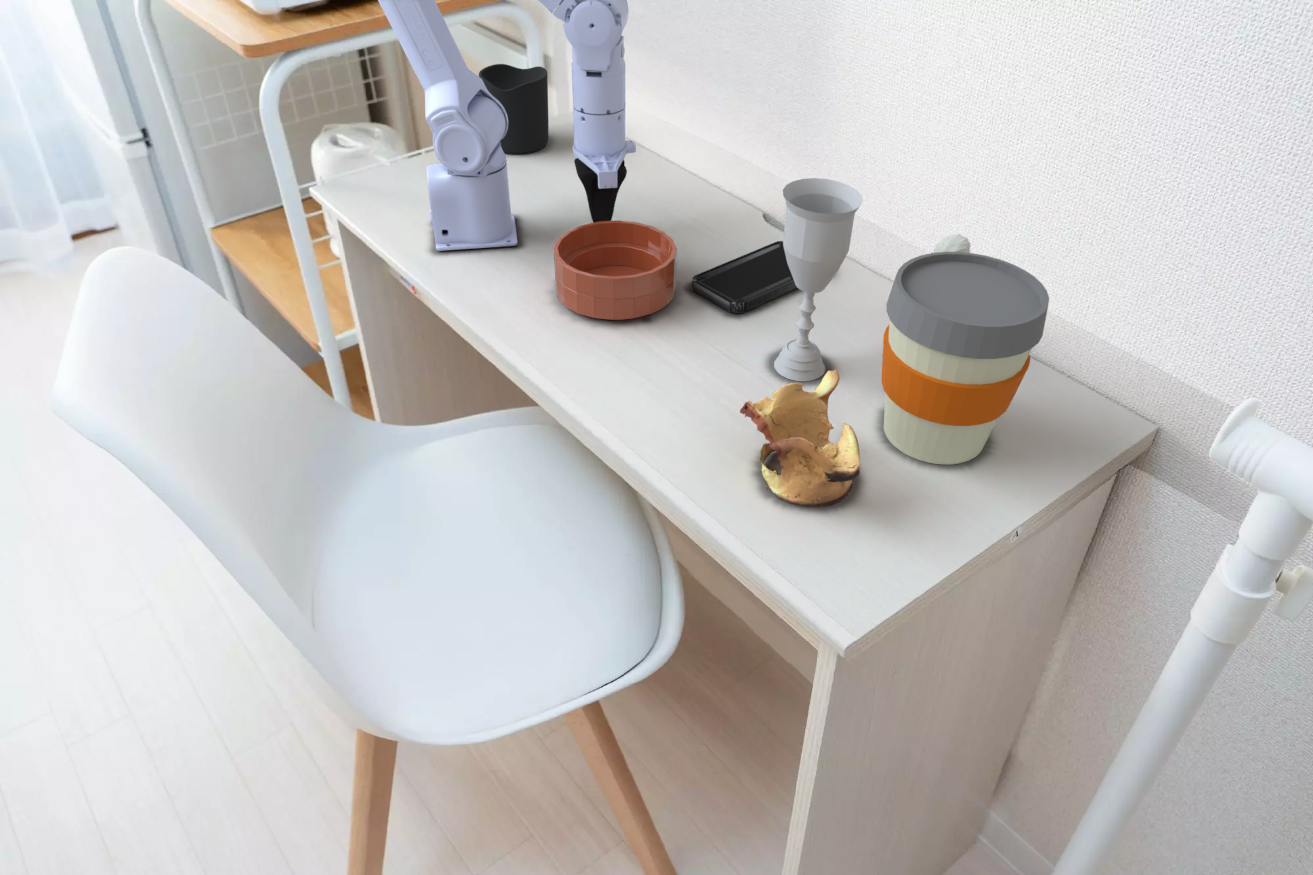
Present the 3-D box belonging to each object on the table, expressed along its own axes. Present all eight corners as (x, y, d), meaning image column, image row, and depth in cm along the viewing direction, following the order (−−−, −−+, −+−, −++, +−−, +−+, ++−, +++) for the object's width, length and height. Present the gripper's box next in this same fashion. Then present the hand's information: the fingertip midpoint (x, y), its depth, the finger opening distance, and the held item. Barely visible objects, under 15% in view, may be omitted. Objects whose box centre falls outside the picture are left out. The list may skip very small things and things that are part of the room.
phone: (687, 278, 103) (782, 238, 111) (687, 287, 104) (781, 247, 112) (737, 307, 99) (832, 264, 106) (736, 316, 99) (831, 273, 107)
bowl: (562, 329, 97) (559, 282, 94) (551, 268, 107) (549, 224, 104) (685, 319, 99) (686, 273, 96) (663, 260, 109) (664, 217, 106)
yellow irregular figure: (718, 465, 81) (724, 386, 76) (794, 420, 86) (805, 343, 81) (824, 541, 74) (839, 460, 69) (900, 487, 79) (919, 408, 74)
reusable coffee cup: (1034, 462, 82) (1086, 315, 72) (906, 490, 79) (944, 339, 69) (956, 382, 91) (994, 242, 82) (839, 404, 88) (864, 261, 78)
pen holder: (528, 126, 141) (522, 58, 135) (564, 145, 135) (560, 75, 129) (473, 141, 136) (466, 70, 130) (508, 161, 131) (502, 89, 124)
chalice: (752, 353, 94) (768, 184, 83) (812, 340, 96) (836, 173, 85) (785, 393, 89) (807, 219, 78) (848, 379, 91) (878, 207, 80)
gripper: (645, 129, 97) (644, 247, 106) (626, 82, 108) (626, 193, 117) (577, 132, 96) (581, 251, 105) (565, 84, 107) (569, 196, 116)
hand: (601, 221), depth 110 cm, fingers closed
